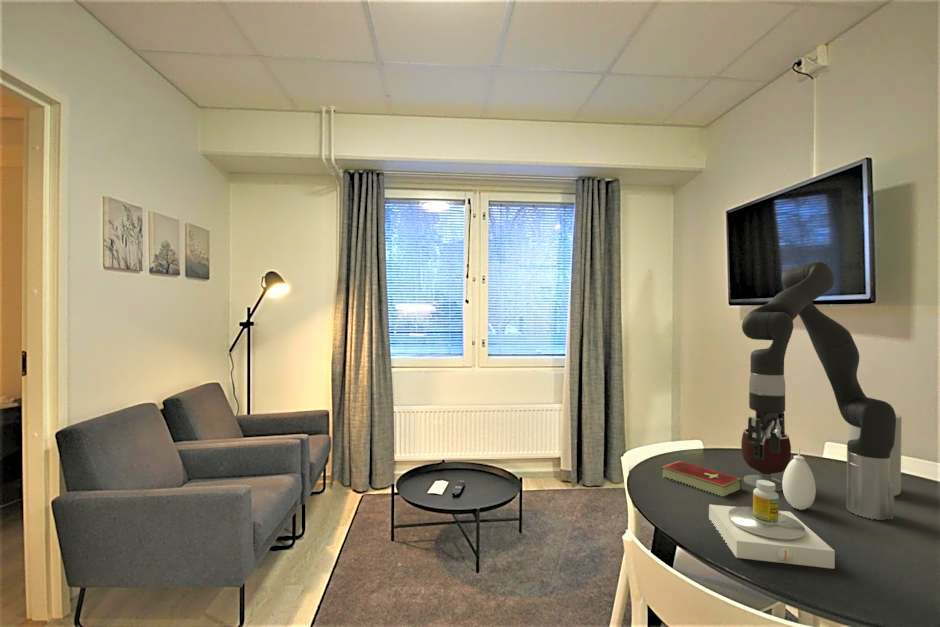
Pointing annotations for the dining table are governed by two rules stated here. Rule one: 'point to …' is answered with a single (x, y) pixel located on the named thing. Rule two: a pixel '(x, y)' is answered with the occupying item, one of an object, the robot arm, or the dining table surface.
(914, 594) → the dining table surface
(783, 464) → the mate gourd
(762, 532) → the scale pan
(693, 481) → the hardcover book
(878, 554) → the dining table surface
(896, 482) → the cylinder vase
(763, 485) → the supplement bottle
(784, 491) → the white rubber air blower
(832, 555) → the scale base
